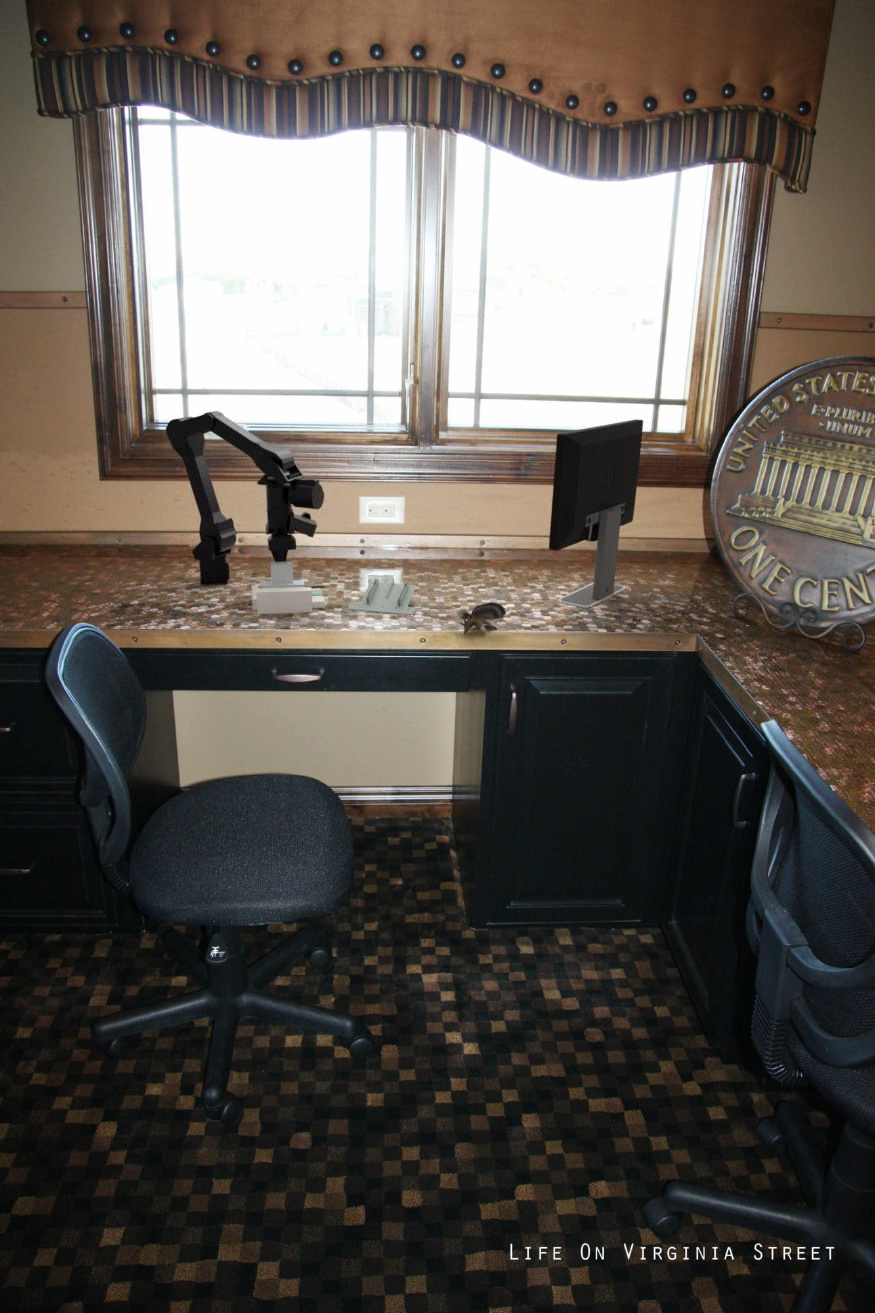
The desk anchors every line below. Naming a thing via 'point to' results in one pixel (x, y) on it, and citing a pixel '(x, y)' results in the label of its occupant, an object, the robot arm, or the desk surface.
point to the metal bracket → (386, 598)
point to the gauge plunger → (284, 577)
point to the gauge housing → (286, 600)
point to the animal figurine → (481, 616)
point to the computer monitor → (595, 498)
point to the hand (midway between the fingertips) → (281, 570)
